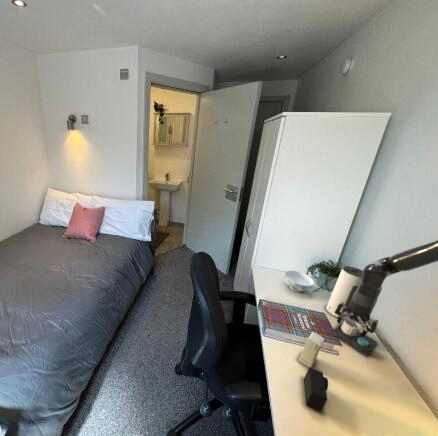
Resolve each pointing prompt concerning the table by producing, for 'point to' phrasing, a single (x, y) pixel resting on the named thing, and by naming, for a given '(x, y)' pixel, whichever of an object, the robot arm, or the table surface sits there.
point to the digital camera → (315, 389)
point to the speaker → (344, 289)
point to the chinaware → (298, 281)
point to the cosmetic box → (311, 349)
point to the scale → (355, 340)
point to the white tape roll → (350, 327)
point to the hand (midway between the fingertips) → (349, 329)
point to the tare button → (363, 342)
